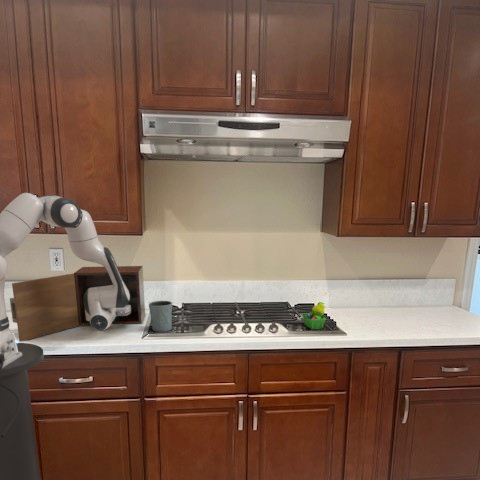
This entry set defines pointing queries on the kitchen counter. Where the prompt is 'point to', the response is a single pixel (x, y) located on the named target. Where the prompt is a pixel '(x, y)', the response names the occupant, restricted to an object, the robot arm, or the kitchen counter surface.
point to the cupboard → (100, 277)
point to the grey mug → (161, 315)
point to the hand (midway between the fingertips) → (110, 306)
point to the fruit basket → (315, 317)
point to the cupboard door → (44, 306)
